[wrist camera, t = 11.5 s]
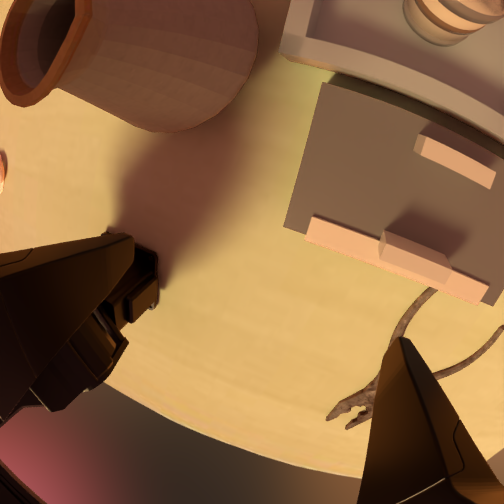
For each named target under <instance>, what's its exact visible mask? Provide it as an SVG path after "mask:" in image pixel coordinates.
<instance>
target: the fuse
mask: <svg viewBox="0 0 504 504" xmlns="http://www.w3.org/2000/svg"><path fill="white" fill-rule="evenodd" d="M402 10H403V15H404V18H405V20H406V22H407V24H408V25H409V27H410V28H411V29H412V30H413V31H414V32H415V33H416V34H417V35H418V36H419V37H420V38H422V39H423V40H425V41H427V42H429V43H431V44H433V45H436V46H441V47H450V46H454V45H456V44H458V43H460V42H461V41H463V40H465V39H466V38H467V37H468V36H469V35H470V34H473V33H475V32H476V31H478V30H480V29H481V28H483V27H484V26H485V25H486V24H491V23H494V22H496V21H498V20H500V19H502V18H503V17H504V0H403V4H402Z"/></svg>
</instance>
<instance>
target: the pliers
mask: <svg viewBox="0 0 504 504" xmlns="http://www.w3.org/2000/svg"><path fill="white" fill-rule="evenodd" d="M437 291H438V290H437V289H434V288H432V287H429V288H427V289H426V290H425V291H424V292H423V293H422V294H421V295H420V296H419V297H418V298H417V299H416V300H415V301H414V303H413V304H412V305H411V306H410V307H409V308H408V310H407V311H406V312H405V314H404V315H403V316H402V318H401V319H400V321H399V323H398V324H397V326H396V328H395V330H394V332H393V335H392V337H391V340H390V343H389V347H390V345H391V344H392V342H393V341H394V339H395V338H396V337H397V336H403V333H404V331H405V329H406V327H407V325H408V323H409V322H410V320H411V319H412V318H413V316H414V315H415V313H416V312H417V311H418V310H419V308H420V307H421V306H422V305H423V304H424V303H425V302H426V301H427V300H428V299H429V298H430V297H431V296H432V295H433V294H434V293H435V292H437ZM503 330H504V326H500V327H499V328H498V329H497V331H496V332H495V333H494V334H493V336H492V337H491V338H490V339H489V340H488V341H487V342H486V343H485V344H484V345H483V346H482V347H481V348H480V349H479V350H478V351H476V352H475V353H474V354H473V355H471V356H470V357H468V358H467V359H465V360H464V361H462V362H460V363H458V364H456V365H454V366H452V367H449V368H447V369H444V370H441V371H438V372H435V373H432V374H433V375H434V377H435V378H436V380H439V379H441V378H444V377H447V376H449V375H451V374H454V373H456V372H458V371H460V370H461V369H463V368H465V367H467V366H468V365H470V364H471V363H472V362H474V361H475V360H476V359H478V358H479V357H480V356H481V355H482V354H483V353H485V352H486V351H487V350H488V349H489V348H490V347H491V346H492V345H493V343H494V342H495V341H496V340H497V338H498V337H499V336H500V335H501V333H502V332H503ZM389 347H388V348H389ZM380 370H381V369H380ZM379 375H380V371H379V373H378V375H377V376H376V377H375V378H374V380H373V381H371V382H370V383H369V384H368V385H367V386H366V387H365V388H364V389H362V390H360V391H358V392H356V393H355V394H353V395H351V396H349V397H347V398H345V399H343V400H341V401H339V403H338V404H337V405H336V406H335V407H334V409H333V410H332V411H331V412H330V413H329V415H328V416H327V417H326V421H330V420H332V419H334V418H337V417H338V416H339V415H340V414H342V413H348V412H350V411H351V406H360V407H361V406H363V405H364V406H366V410H367V411H365V412H359V413H358V417H357V418H355V419H352V420H351V421H350V422H349V423H348V424H347V425H346V427H345V429H346V430H348V429H350V428H352V427H354V426H356V425H358V424H360V423H362V422H364V421H366V420H368V419H370V418H372V414H373V405H374V399H375V394H376V389H377V385H378V380H379Z"/></svg>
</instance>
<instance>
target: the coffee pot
mask: <svg viewBox="0 0 504 504" xmlns="http://www.w3.org/2000/svg"><path fill="white" fill-rule="evenodd" d="M258 35H259V29H258V24H257V20H256V15H255V11H254V8H253V6H252V4H251V3H250V1H249V0H14V2H13V3H12V5H11V7H10V9H9V12H8V14H7V17H6V19H5V22H4V25H3V28H2V32H1V36H0V86H1V89H2V91H3V93H4V95H5V97H6V98H7V99H8V100H9V101H10V102H11V103H12V104H13V105H17V106H20V107H28V106H32V105H35V104H36V103H38V102H39V101H40V100H42V99H43V98H44V97H46V96H47V95H48V94H49V93H50V92H51V91H52V90H53V89H55V88H60V89H62V90H64V91H66V92H68V93H70V94H72V95H74V96H76V97H78V98H80V99H82V100H85V101H87V102H89V103H91V104H93V105H95V106H97V107H99V108H101V109H103V110H104V111H106V112H108V113H110V114H112V115H114V116H116V117H118V118H120V119H122V120H124V121H126V122H128V123H130V124H132V125H133V126H136V127H139V128H142V129H145V130H148V131H151V132H165V133H175V132H179V131H182V130H186V129H190V128H194V127H196V126H198V125H200V124H201V123H203V122H205V121H207V120H209V119H210V118H212V117H214V116H216V115H217V114H218V113H219V112H220V111H221V110H222V109H223V108H224V107H226V106H227V105H228V104H229V103H230V102H231V101H232V100H233V99H234V98H235V97H236V95H237V94H238V92H239V91H240V89H241V88H242V86H243V85H244V83H245V82H246V80H247V79H248V77H249V75H250V72H251V69H252V66H253V63H254V61H255V58H256V55H257V48H258Z"/></svg>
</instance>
